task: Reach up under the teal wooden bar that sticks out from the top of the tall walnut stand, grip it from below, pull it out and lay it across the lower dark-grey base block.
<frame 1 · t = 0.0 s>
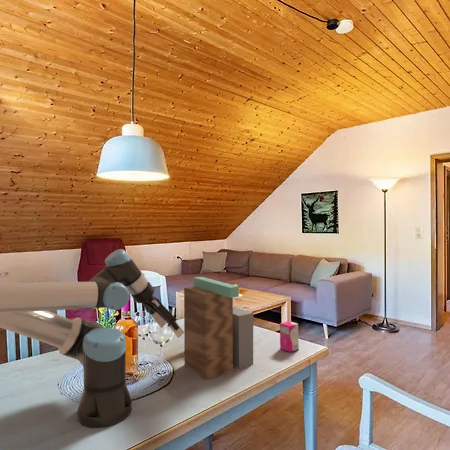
hand: (172, 329, 131), 15 cm above the table, tool tilted 35°, fingers open, 13 cm apart
bar: (214, 291, 129), point 30 cm above the table, touching stand
base block: (236, 361, 140), on the table
supplement box: (289, 350, 152), on the table
stand: (208, 367, 134), on the table
honey pot: (224, 335, 171), on the table
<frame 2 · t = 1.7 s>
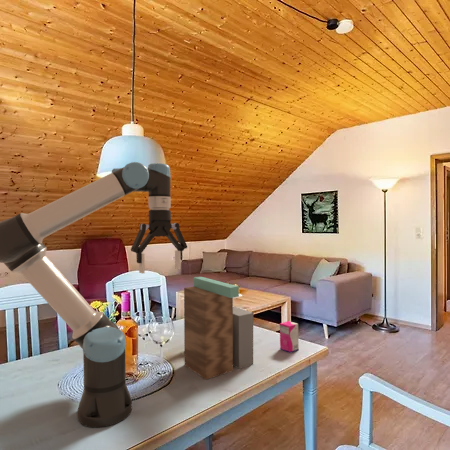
hand: (160, 270, 122), 39 cm above the table, tool pointing down, fingers open, 13 cm apart
nothing on the table moved.
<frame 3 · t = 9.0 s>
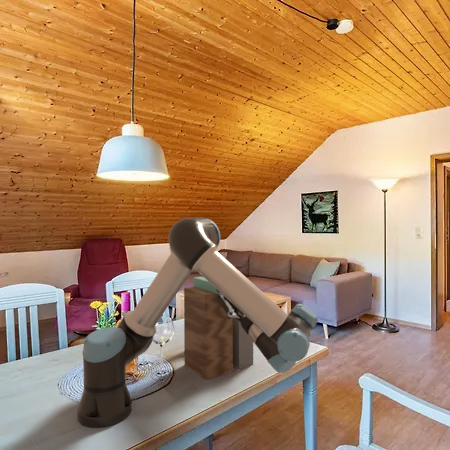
hand: (219, 280, 127), 34 cm above the table, tool pointing upward, fingers closed on bar, 3 cm apart
bar: (214, 291, 129), point 30 cm above the table, touching gripper, stand
everything else where it was.
when the fingers open (26 cm above the table, at t = 15.2 s): bar drops 1 cm, resting on base block.
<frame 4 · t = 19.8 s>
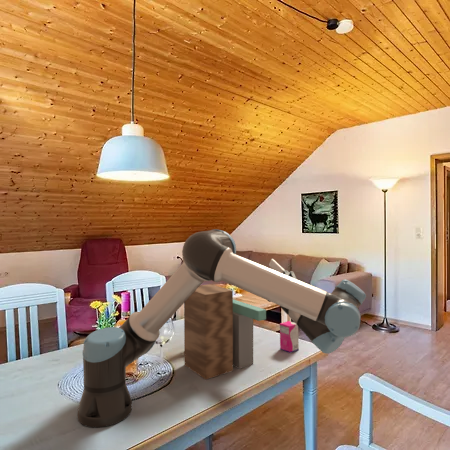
hand: (255, 263, 118), 42 cm above the table, tool pointing upward, fingers open, 13 cm apart
bar: (241, 312, 137), point 20 cm above the table, touching base block
everything else where it was.
at the end: bar inside the target area on the base block (1.1 cm from its centre), point 20.0 cm above the base block's base; bar touching base block; the gripper is holding nothing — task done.
